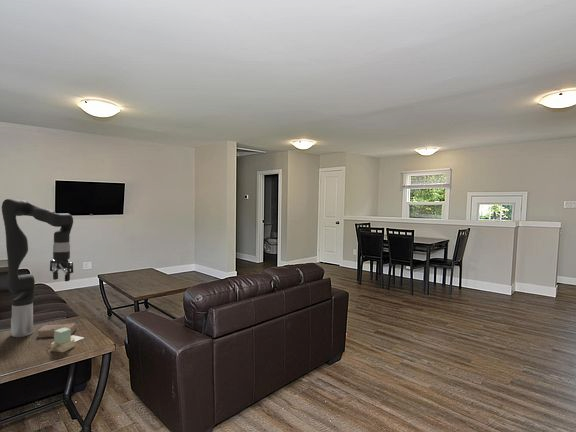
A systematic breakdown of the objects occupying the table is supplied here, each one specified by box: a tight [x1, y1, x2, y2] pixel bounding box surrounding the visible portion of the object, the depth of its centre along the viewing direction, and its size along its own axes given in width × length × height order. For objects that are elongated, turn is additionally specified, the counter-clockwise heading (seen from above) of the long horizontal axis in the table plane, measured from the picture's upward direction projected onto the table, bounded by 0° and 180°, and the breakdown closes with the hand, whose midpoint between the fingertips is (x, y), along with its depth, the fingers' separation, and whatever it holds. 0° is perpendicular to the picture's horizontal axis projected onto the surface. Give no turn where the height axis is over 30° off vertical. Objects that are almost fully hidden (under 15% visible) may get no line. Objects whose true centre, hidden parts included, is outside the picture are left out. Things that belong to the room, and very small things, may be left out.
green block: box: [53, 327, 72, 344], centre depth 169 cm, size 5×5×6 cm
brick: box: [36, 322, 77, 338], centre depth 188 cm, size 17×8×5 cm, turn 105°
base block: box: [50, 339, 75, 353], centre depth 170 cm, size 7×7×4 cm
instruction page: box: [71, 334, 85, 343], centre depth 180 cm, size 9×9×1 cm
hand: (61, 280), depth 180 cm, fingers open, 8 cm apart
